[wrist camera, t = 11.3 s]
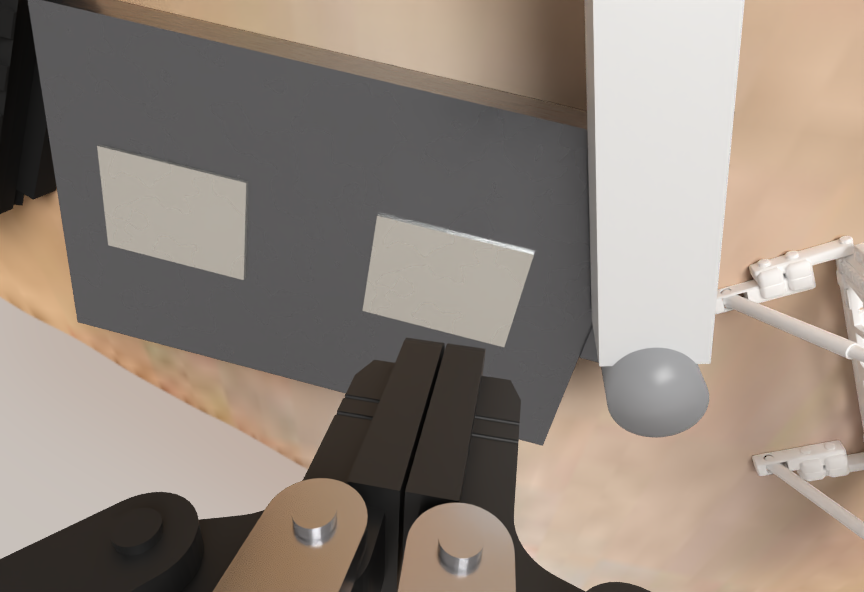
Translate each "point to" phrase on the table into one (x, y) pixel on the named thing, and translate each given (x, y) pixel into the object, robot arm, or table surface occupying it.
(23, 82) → the rail mount
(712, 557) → the table surface
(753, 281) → the film strip holder
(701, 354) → the bar
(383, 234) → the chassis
